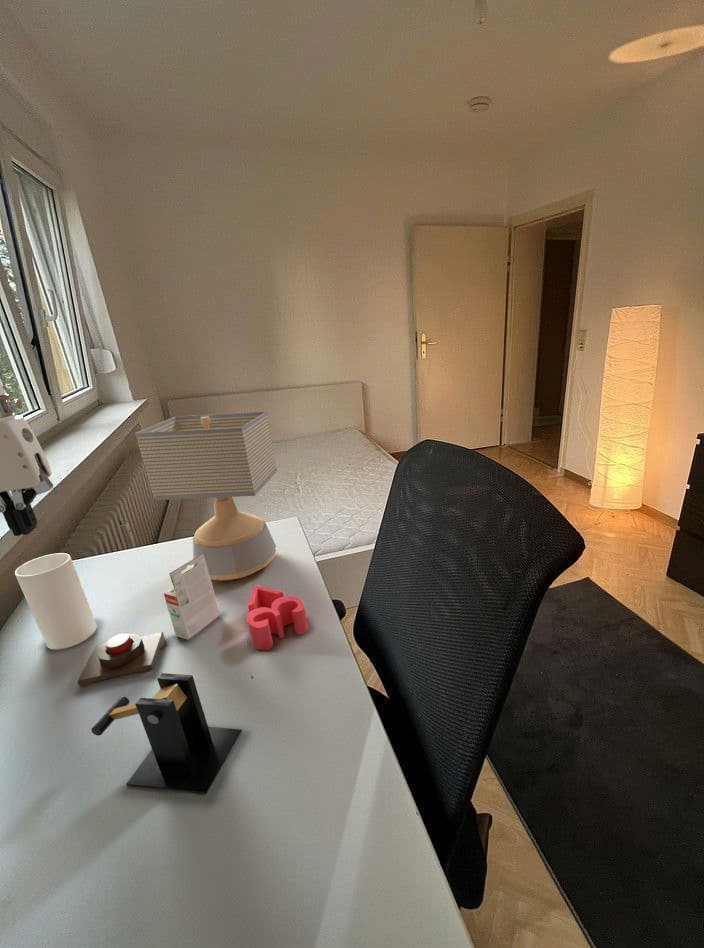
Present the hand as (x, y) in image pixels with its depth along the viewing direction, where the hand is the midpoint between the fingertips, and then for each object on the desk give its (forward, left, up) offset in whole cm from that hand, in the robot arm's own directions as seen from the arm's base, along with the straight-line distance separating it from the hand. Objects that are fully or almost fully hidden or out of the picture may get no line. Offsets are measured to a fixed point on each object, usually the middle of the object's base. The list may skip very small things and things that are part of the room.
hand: (26, 531), depth 67 cm
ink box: (+18, +6, -27) cm, 33 cm away
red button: (+7, -1, -23) cm, 25 cm away
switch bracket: (+21, -25, -27) cm, 42 cm away
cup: (-6, +12, -27) cm, 30 cm away
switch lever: (+17, -23, -19) cm, 35 cm away
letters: (+32, +2, -27) cm, 42 cm away
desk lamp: (+24, +28, -27) cm, 46 cm away
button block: (+7, -1, -27) cm, 28 cm away
